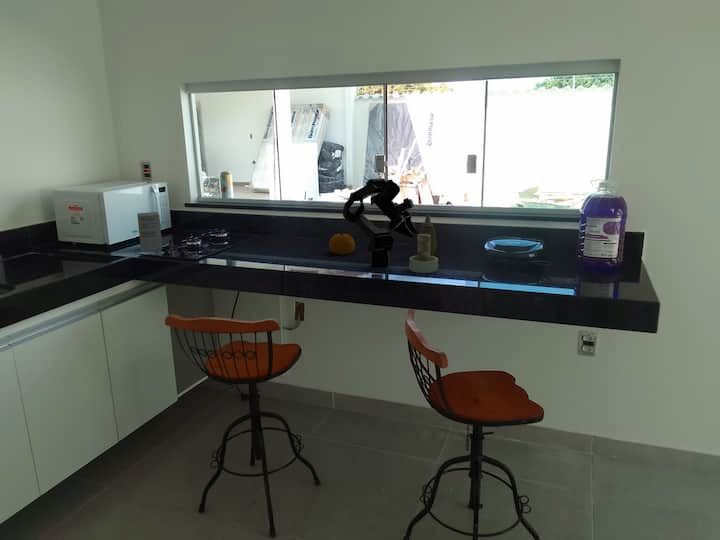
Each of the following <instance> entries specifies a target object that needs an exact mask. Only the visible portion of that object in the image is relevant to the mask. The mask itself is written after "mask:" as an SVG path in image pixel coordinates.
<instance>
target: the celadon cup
mask: <svg viewBox="0 0 720 540" xmlns="http://www.w3.org/2000/svg"><path fill="white" fill-rule="evenodd" d="M408 265H409V266H408V267H409V271H410V272H413V273H418V274H430V273H436V272H437V271H438V270H439V269H438V268H439V267H438V266H439V258H438V257H436V256H434V255H432V256H430V261H417V255H413V256H410V257H409V264H408Z"/></svg>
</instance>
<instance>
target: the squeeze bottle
mask: <svg viewBox="0 0 720 540" xmlns="http://www.w3.org/2000/svg"><path fill="white" fill-rule="evenodd" d="M421 224H422V225H421V227H420V228H419V234H429V235H431V237H430V256H434V255H435V252H436V249H437V238H436V228H435V227H434V222H431V216H430V213H426V214H425V219H424V221H423V222H422V223H421Z"/></svg>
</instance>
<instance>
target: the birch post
mask: <svg viewBox="0 0 720 540" xmlns="http://www.w3.org/2000/svg"><path fill="white" fill-rule="evenodd" d="M430 237H431V235H429V234H420V233H418V234H417V247H416V248H417V251H416V256H417V261H430Z"/></svg>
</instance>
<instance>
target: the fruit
mask: <svg viewBox="0 0 720 540" xmlns="http://www.w3.org/2000/svg"><path fill="white" fill-rule="evenodd" d="M328 247H329V251H330V252H332V254H335V255H340V256H341V255H349V254H351V253H353V251H354V250H355V247H356V243H355V240H354V238H353V237H352V236H351V235H350V234H348V233H343V231H341V233H336V234H333V236H331V238H330V239H329V242H328Z"/></svg>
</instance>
